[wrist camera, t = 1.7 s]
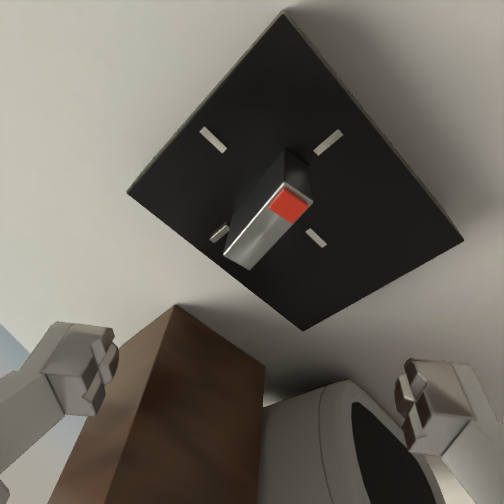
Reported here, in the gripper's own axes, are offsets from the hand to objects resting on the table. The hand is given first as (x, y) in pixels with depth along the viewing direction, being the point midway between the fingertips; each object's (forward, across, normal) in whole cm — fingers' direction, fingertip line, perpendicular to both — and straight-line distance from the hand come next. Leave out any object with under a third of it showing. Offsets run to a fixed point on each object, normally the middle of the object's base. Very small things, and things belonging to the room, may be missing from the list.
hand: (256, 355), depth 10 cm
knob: (+10, 0, 0) cm, 10 cm away
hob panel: (+13, -1, +1) cm, 13 cm away
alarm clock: (+13, -9, +26) cm, 30 cm away
